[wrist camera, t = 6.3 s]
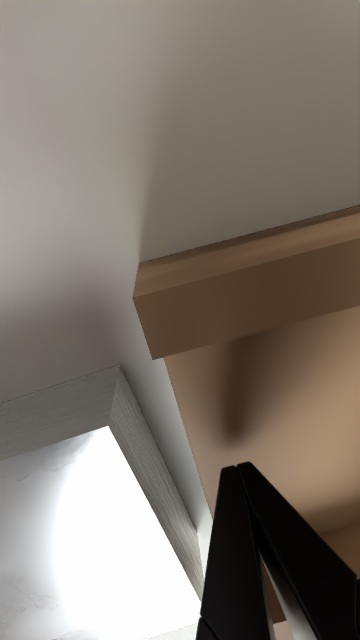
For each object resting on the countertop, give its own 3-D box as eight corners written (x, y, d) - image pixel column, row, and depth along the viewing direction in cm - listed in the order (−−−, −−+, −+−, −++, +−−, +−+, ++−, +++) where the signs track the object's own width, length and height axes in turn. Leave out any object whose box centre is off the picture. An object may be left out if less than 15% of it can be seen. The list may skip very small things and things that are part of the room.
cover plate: (120, 357, 9) (107, 426, 6) (195, 522, 12) (209, 619, 9) (-123, 438, 9) (-240, 538, 6) (10, 581, 12) (-32, 692, 9)
